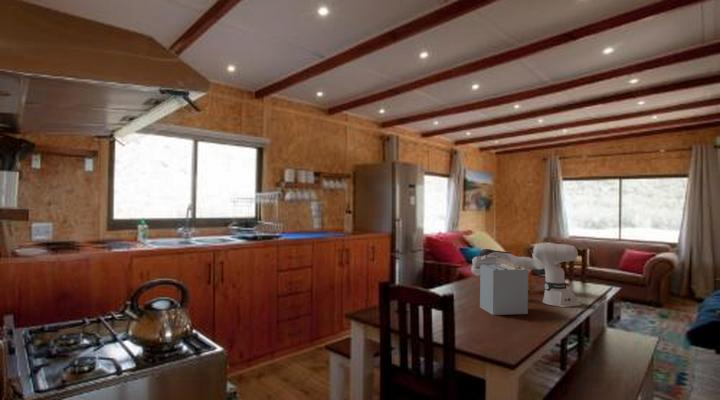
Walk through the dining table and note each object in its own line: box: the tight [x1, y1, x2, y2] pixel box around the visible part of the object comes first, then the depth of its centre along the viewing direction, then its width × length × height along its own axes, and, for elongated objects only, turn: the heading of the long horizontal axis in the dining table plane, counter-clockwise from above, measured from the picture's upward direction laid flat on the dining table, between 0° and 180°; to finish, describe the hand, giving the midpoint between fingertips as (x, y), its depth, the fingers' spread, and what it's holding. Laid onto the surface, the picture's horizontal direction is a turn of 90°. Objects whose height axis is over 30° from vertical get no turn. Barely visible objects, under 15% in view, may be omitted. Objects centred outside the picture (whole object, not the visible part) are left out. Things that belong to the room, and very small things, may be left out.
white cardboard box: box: [479, 264, 529, 316], centre depth 227 cm, size 22×16×27 cm
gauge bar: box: [497, 258, 519, 268], centre depth 234 cm, size 3×20×3 cm, turn 9°
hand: (492, 256), depth 251 cm, fingers open, 8 cm apart
